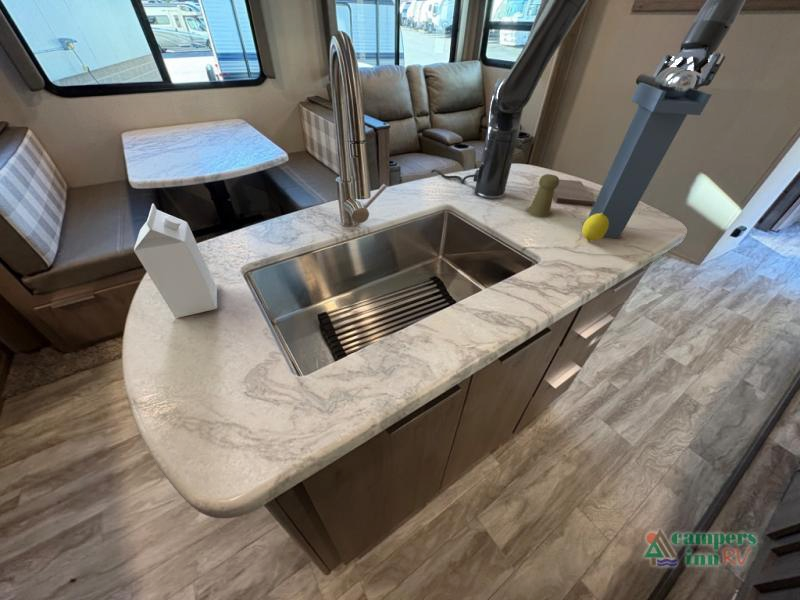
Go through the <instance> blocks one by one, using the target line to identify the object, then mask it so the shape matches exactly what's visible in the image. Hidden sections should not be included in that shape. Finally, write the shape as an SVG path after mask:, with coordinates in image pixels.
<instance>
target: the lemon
mask: <svg viewBox="0 0 800 600" xmlns="http://www.w3.org/2000/svg"><path fill="white" fill-rule="evenodd" d="M588 217H589V216H588ZM588 217H587V219H586V220H585V221H584V223H583V225H582V228H581V234H582V236H583V238H584V239H586V241H587V242H595V241H599V240H601V239H602V238H604V237H603V236H604V235H605V233H606V232H607V230H608V226H609V220H608V218H607V217H606V216H605V215H604V214H603V213H600V214H594V215H592V216H590V217H589V218H588Z"/></svg>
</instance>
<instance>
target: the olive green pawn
mask: <svg viewBox="0 0 800 600" xmlns="http://www.w3.org/2000/svg"><path fill="white" fill-rule="evenodd" d="M559 179H560V178H559V177H558V176H557V175H555V174H551V173H545V174H542V175H541V176H540V178H539V181H538V185H539V187H538V190H537V191H536V194H535V196H534V197H533V200H532V202H531V204H530V206H529V208H528V213H529V214H530V215H532V216H534V217H537V218H546V217H548V216H550V213H551V208H552V203H553V200H554V199H553V198H554V196H553V194H554V190H555V188H557V186H558V184H559Z"/></svg>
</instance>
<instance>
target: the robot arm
mask: <svg viewBox="0 0 800 600" xmlns="http://www.w3.org/2000/svg"><path fill="white" fill-rule="evenodd" d="M588 1H589V0H542V1H541V3H540V6H539V8H538V11H537V13H536V15H535V18H534V20H533V23H532V26H531V29H530V32H529V35H528V37H527V39H526V42H525V43H524V46H523V48H522V50H521V52H520V53H519V55H518V56H517V58H516V60H515V61H514V63H513V65H512V66H511V68H510V70H508V71H506V72H504V73H503V74H502V75H500V77H499V78H498V79H497V80H496V82H495V85H494V88H493V92H492V96H491V102H490V108H489V114H488V119H487V128H486V129H487V130H486V135H485V140H484V145H483V151H482V156H481V161H480V164H479V168H478V169H476V170H475V171H474V174H468V175H465V176H464V177H463V178H462V177H461V176H459V175H445V174H443V173H442V172H441V171H439V170H438V169H432V170H430V172H429V173H434V172H435V173H437V174H438V175H439V176H441V177H443V178H445V179H459V183H461V184H462V183H464V182H465V181H466V179H469V178H473V179H472V181H473V182H474V183H475V182H476V183H475V188H474V192H473V193H474V195H477V196H479V197H482V198H484V199H492V200H497V199H501V198H503V197H504V196H505V193H506V187H507V184H508V179H509V176H510V172H511V167H512V164H513V159H514V155H515V152H516V147H517V144H518V139H519V137H520V132H521V120H522V115H523V110H524V108H525V107H526V106H527V105H528V104H529V101H530V100H531V99H532V96H533V94H534V92H535V90H536V88H537V86H538V84H539V82H540V80H541V78H542V76H543V74H544V72H545V70H546V68H547V66H548V64H549V63H550V61H551V59H552V58H553V57H554V55H555V54H556V52H557V50H558V49H559V48H560V46H561V45H562V43H563V41H564V40H565V38H566V37H567V35H568V33H570V30H571V29H572V27H573V26H574V24H575V22H576V21H577V19H578V18H579V16H580V15H581V13H582V12H583V10H584V9H585V7H586V5H587V4H588ZM746 1H747V0H706V1H705V3H704V4H703V5H702V7H701V8H700V10H699V11H698V13H697V15H696V17H695V19H694V21H693V23H692V24H691V26H690V28H689V29H688V31H687V33H686V35H685V36H684V38H683V40H682V41H681V44H680V50H679V51H678V53H676V55H670V54H665V55H664V56H663V58H662V59H661V61H660V62H659V64H658V66H657V68H656V69H655V71H654V73H653V74H652V76H654V77H657V76H658V75H659V74H660V73H661V72H662V71H663V70H665V69H667V68H669V67H680V68H685V69H689V70H692V71H693V72H694V73H695V74H696V83H695V86H694V87H693V89H696V90H699V89H700V88H701V87H707V86H709V85H711V83H712V81H713V80H714V78H715V76H716V75H717V73H718V71H719V69H720V68H721V66H722V64H723V62H724V61H725V59H726V56H725V55H724V54H723V53H722V52H719V51H718V49H719V47H720V46H721V44H722V43H723V41H724V39H725V37H726V36H727V35H728V32H730V30H731V28H732V26H733V25H734V23H735V21H736V19H737V18H738V16H739V14H740V12H741V11H742V9H743V6H744V5H745V3H746ZM716 51H717V52H716ZM704 67H705V68H704ZM703 68H704V70H703Z"/></svg>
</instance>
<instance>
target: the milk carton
mask: <svg viewBox="0 0 800 600" xmlns="http://www.w3.org/2000/svg"><path fill="white" fill-rule="evenodd" d="M148 213H149V214H148V217H147V219H146V221H145V223H144V224H143V225H142V227H141V228H140V230H139V232H138V235H137V239H136V242H135V244H134V248H133V252H134V254H135V255H136V257H137V258H138V260H139V262H140V263H141V265H142V266H143V268H144V269H145V271H146V273H147V275H148V276H149V278H150V280H151V282H152V283H153V284H154V286H155V287H156V289H157V291H158V293H159V295H161V297H162V299H163V300H164V302H165V304H166V305H167V307H168V309H169V310H170V312H171V313H172V315H173V317H174V318H175V319H178V318H183V317H187V316H188V317H189V316H191V315H195V314H201V313H205V312H209V311H213V310H217V309H218V287H217V284H216V282H215V280H214V278H213V276H212V274H211V271H210V269H209V267H208V265H207V263H206V260H205V259H204V256H203V253H202V252H201V249H200V247H199V245H198V243H197V240H196V238H195V236H194V234H193V232H192V230H191V227H190V225H189V223H188V221H186V220H183V219H181V218H178V217H176V216H174V215H170V214H168V213H166V212H163V211H162V210H159V209H157V207H156V205H155V203H151V207H150V210H149V212H148Z"/></svg>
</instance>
